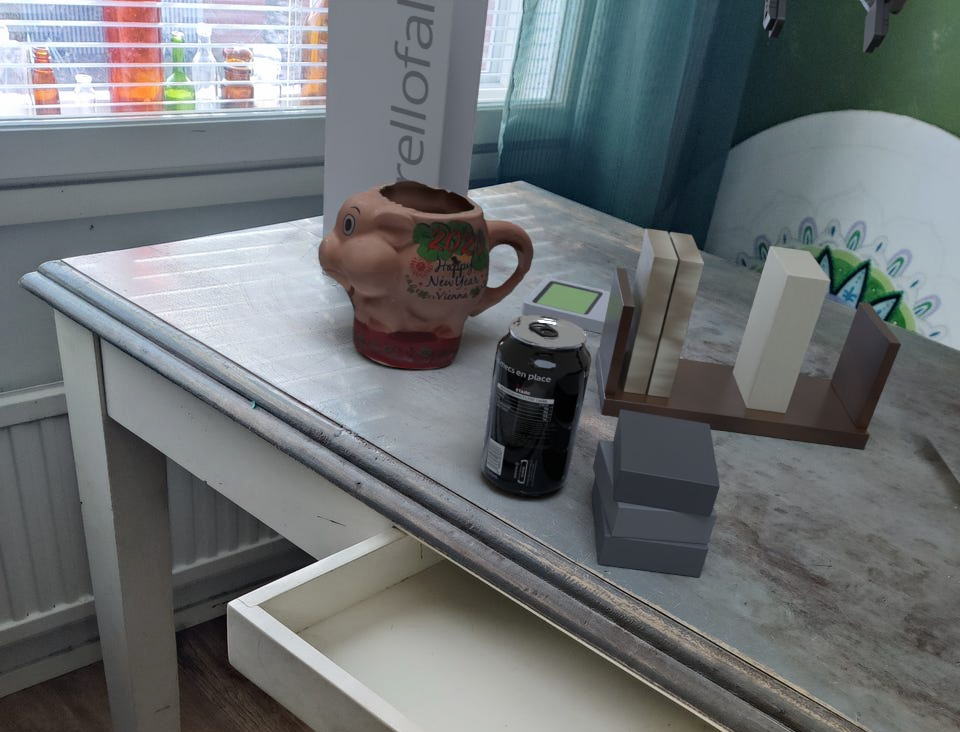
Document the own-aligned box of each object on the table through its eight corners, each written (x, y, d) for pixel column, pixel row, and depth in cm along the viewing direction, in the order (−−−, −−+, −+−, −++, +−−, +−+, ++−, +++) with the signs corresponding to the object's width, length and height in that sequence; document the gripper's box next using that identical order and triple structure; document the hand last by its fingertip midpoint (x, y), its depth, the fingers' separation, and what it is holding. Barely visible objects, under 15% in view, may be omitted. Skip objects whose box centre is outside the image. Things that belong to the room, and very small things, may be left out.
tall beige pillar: (768, 377, 95) (809, 251, 88) (785, 413, 89) (830, 280, 82) (732, 372, 95) (770, 245, 88) (746, 408, 89) (788, 274, 82)
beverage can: (533, 453, 80) (558, 308, 73) (583, 493, 76) (615, 344, 69) (462, 467, 77) (481, 316, 69) (510, 510, 73) (536, 355, 65)
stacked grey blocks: (684, 504, 77) (708, 420, 72) (701, 578, 69) (730, 488, 64) (586, 491, 76) (604, 406, 72) (592, 564, 68) (613, 472, 64)
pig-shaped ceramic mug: (489, 321, 102) (508, 178, 94) (541, 370, 94) (567, 218, 85) (300, 329, 94) (302, 173, 86) (339, 383, 86) (346, 217, 77)
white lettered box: (321, 272, 107) (329, -63, 89) (354, 263, 111) (368, -61, 93) (425, 312, 102) (456, -36, 83) (456, 300, 106) (492, -35, 87)
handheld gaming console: (661, 332, 101) (522, 299, 104) (657, 347, 102) (520, 314, 105) (675, 303, 109) (546, 273, 112) (672, 317, 110) (544, 287, 113)
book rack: (832, 394, 98) (883, 256, 90) (864, 449, 89) (924, 301, 80) (594, 361, 97) (624, 219, 89) (601, 414, 88) (634, 260, 79)
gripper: (774, -179, 84) (759, -6, 82) (937, -153, 84) (925, 19, 82) (746, -103, 91) (731, 57, 89) (895, -79, 92) (884, 80, 90)
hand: (824, 39), depth 86 cm, fingers open, 8 cm apart
